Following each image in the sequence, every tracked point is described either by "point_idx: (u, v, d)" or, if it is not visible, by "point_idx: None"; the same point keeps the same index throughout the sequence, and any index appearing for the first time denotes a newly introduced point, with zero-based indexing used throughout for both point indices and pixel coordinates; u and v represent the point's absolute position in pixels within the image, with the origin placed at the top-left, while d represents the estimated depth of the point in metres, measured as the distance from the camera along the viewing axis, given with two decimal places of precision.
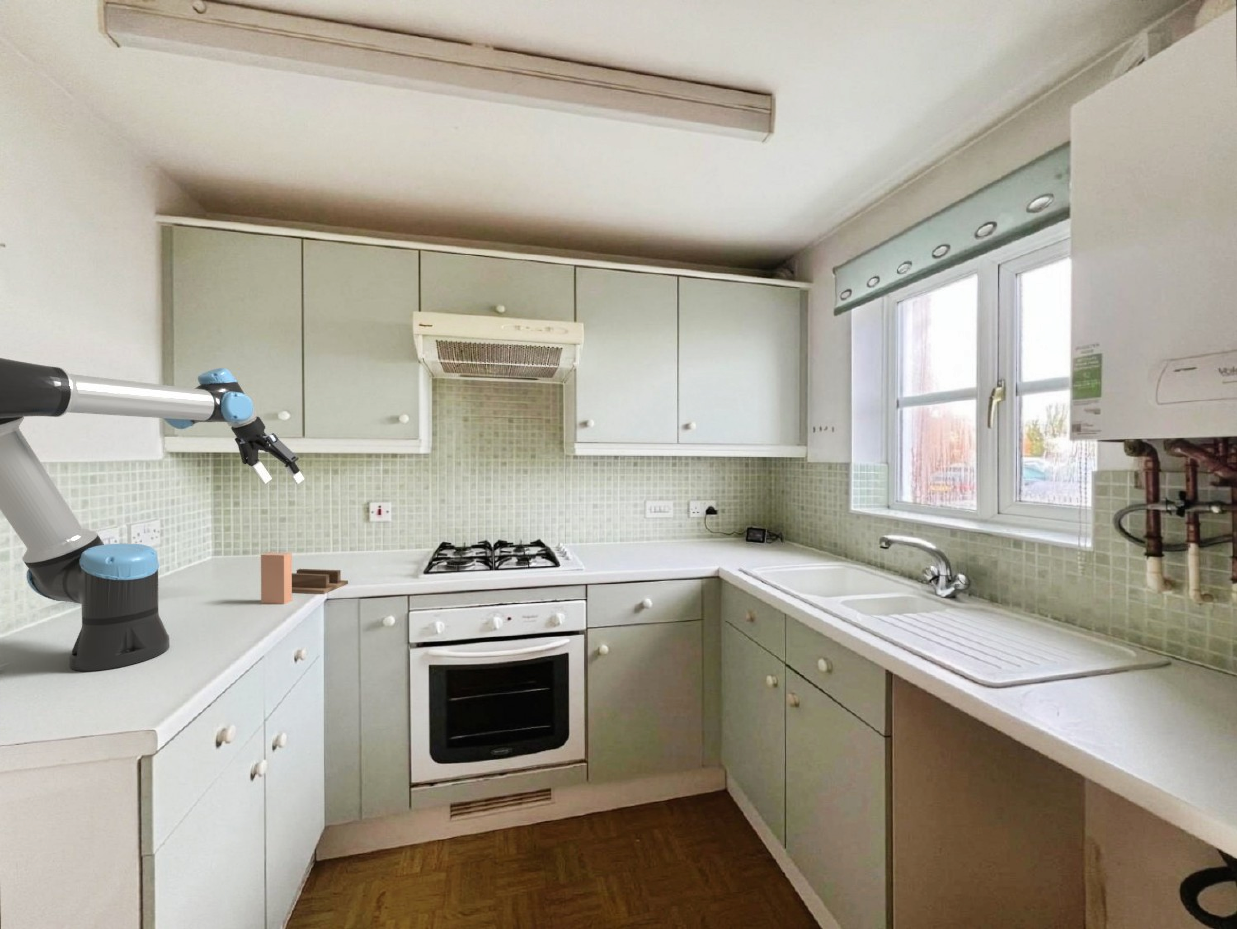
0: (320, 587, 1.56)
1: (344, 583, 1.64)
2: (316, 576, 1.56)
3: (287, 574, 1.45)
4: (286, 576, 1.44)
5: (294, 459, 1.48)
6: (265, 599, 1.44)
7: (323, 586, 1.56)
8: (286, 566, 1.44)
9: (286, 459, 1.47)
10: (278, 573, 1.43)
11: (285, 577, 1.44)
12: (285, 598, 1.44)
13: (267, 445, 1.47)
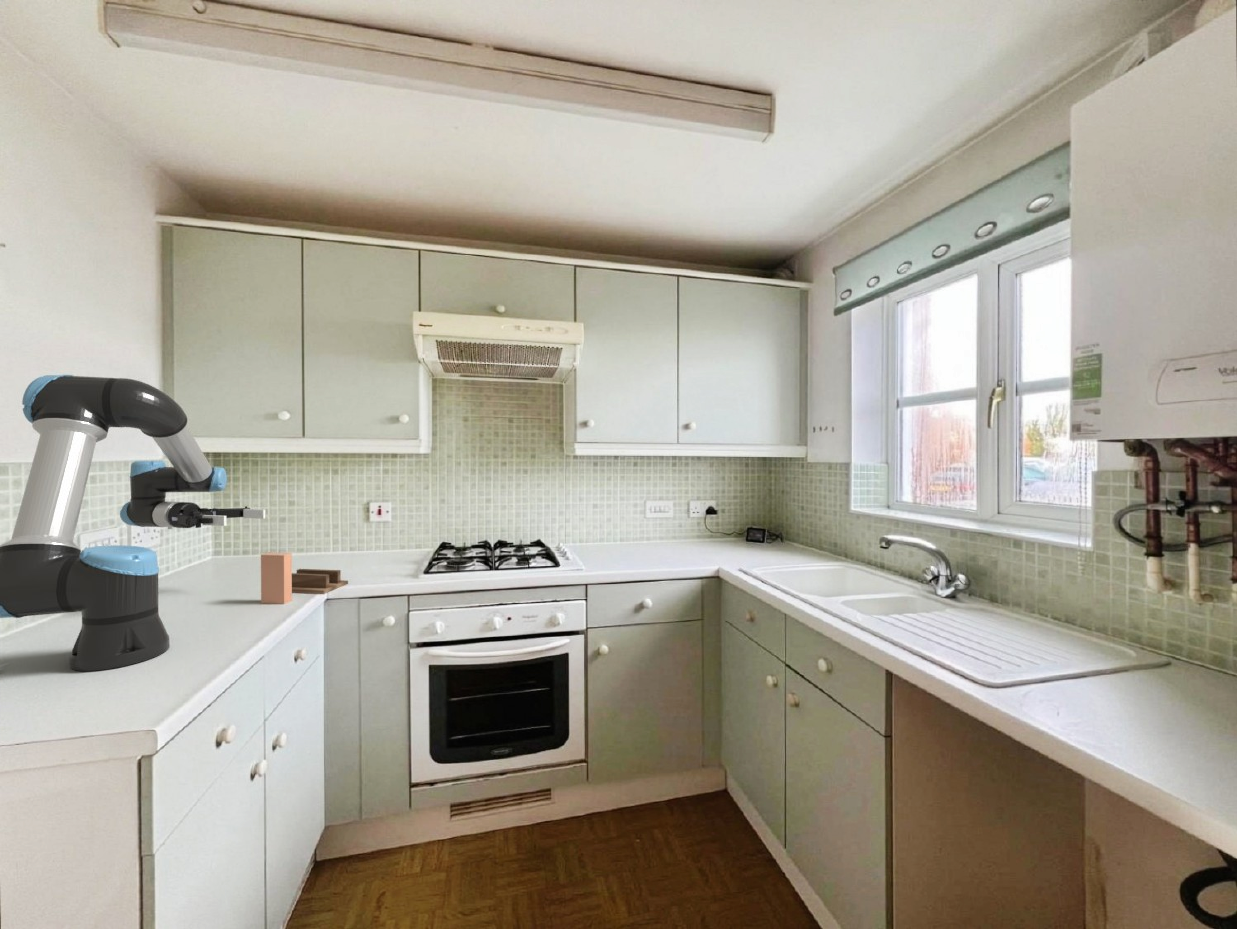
0: (320, 587, 1.56)
1: (344, 583, 1.64)
2: (316, 576, 1.56)
3: (287, 574, 1.45)
4: (286, 576, 1.44)
5: None
6: (265, 599, 1.44)
7: (323, 586, 1.56)
8: (286, 566, 1.44)
9: (242, 508, 1.55)
10: (278, 573, 1.43)
11: (285, 577, 1.44)
12: (285, 598, 1.44)
13: None
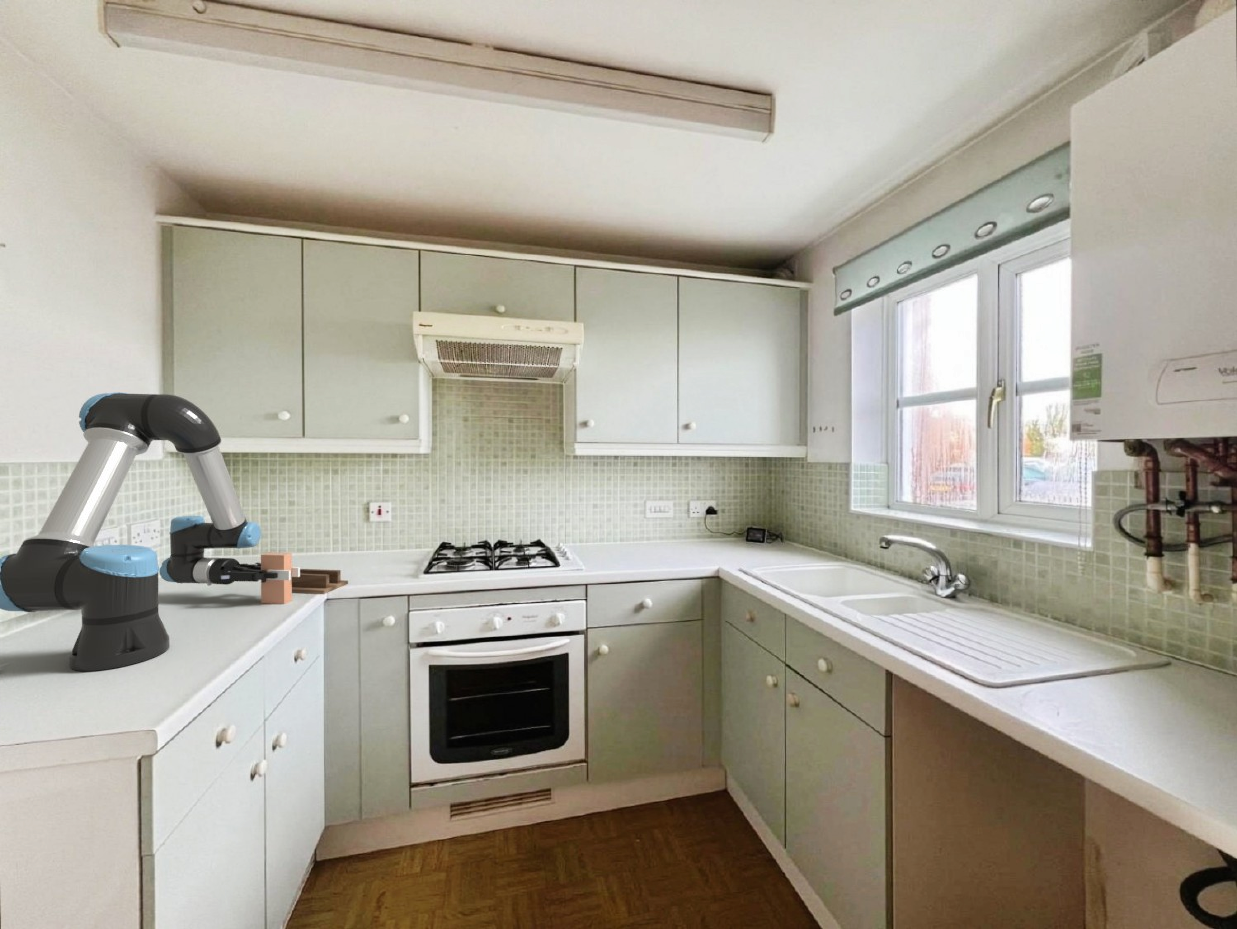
0: (320, 587, 1.56)
1: (344, 583, 1.64)
2: (316, 576, 1.56)
3: None
4: None
5: None
6: (265, 599, 1.44)
7: (323, 586, 1.56)
8: (286, 566, 1.44)
9: None
10: None
11: None
12: (285, 598, 1.44)
13: None
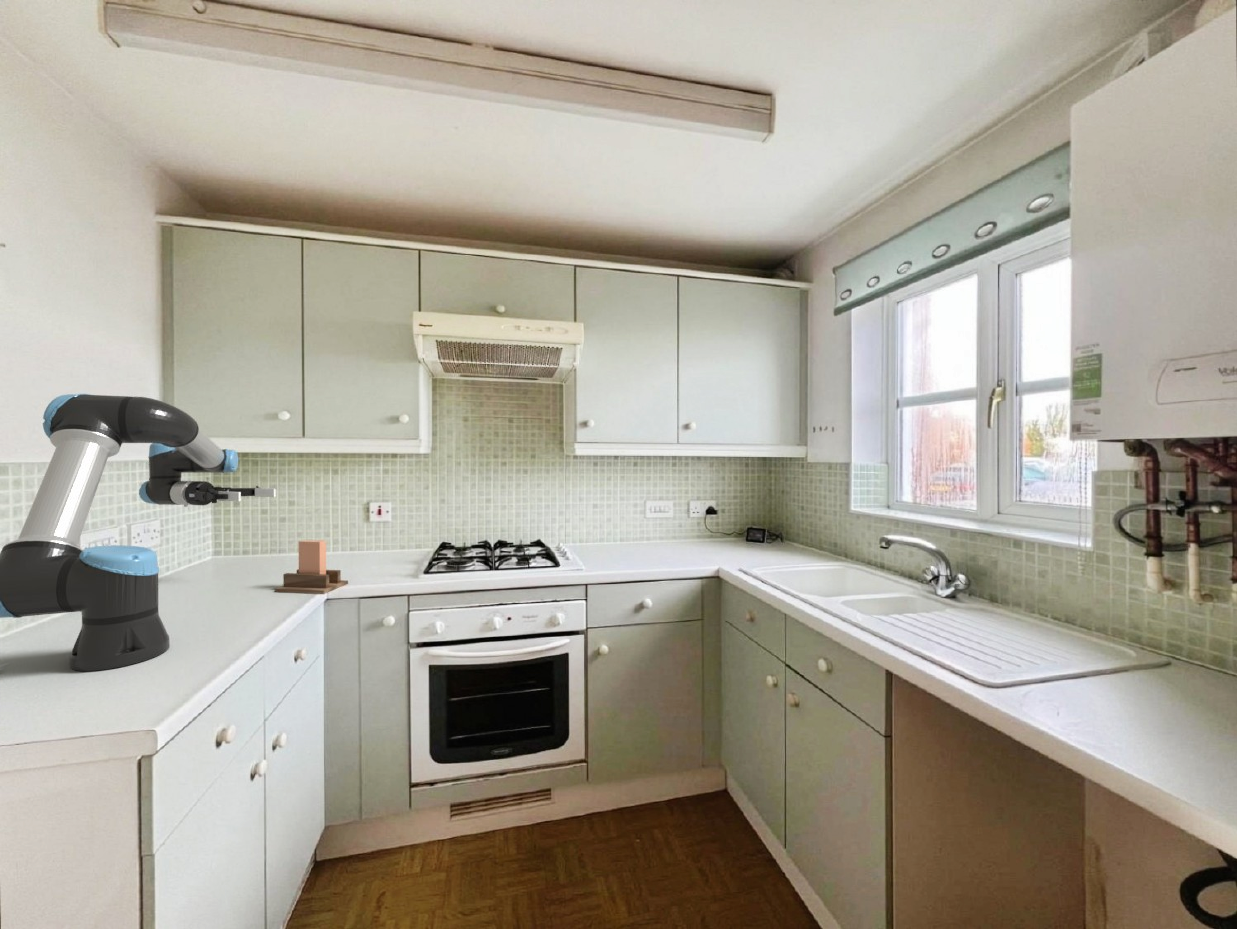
0: (320, 587, 1.56)
1: (344, 583, 1.64)
2: (316, 576, 1.56)
3: (322, 559, 1.60)
4: (321, 561, 1.59)
5: None
6: None
7: (323, 586, 1.56)
8: (321, 552, 1.59)
9: None
10: (314, 558, 1.58)
11: (321, 562, 1.59)
12: None
13: None
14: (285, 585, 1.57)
